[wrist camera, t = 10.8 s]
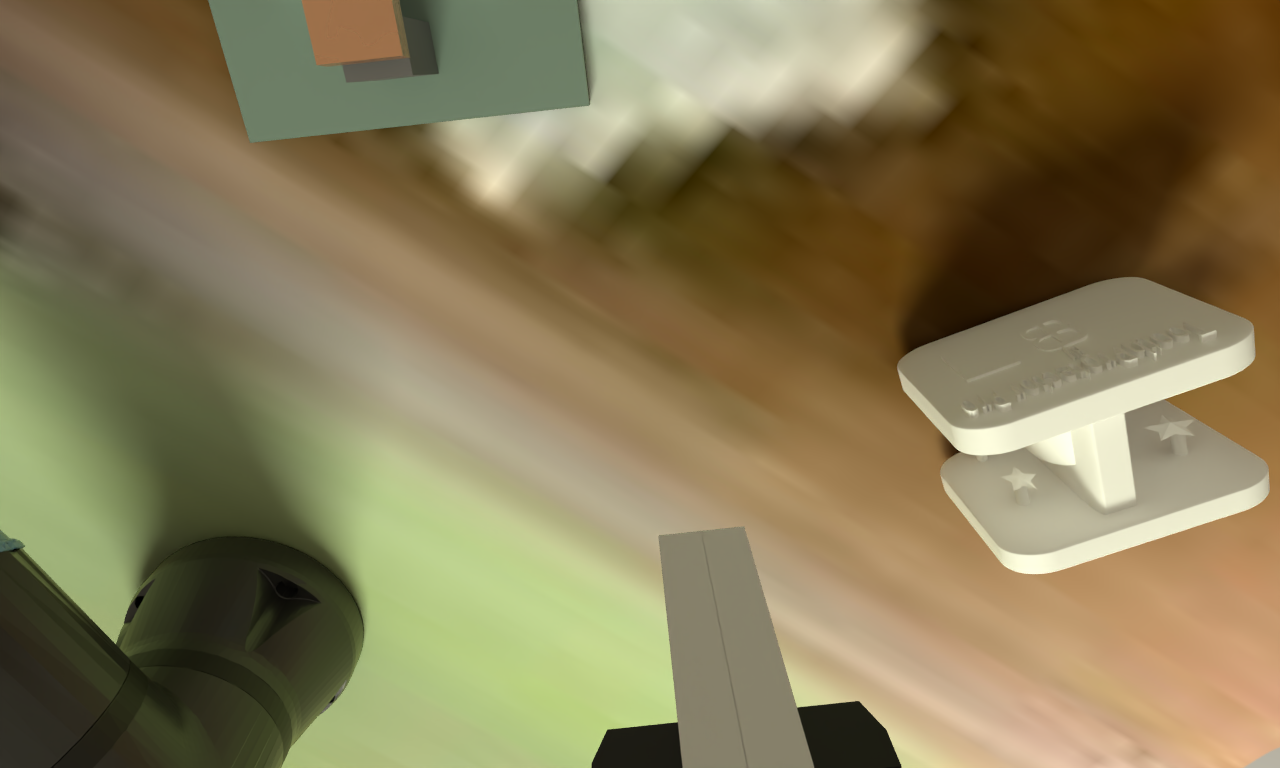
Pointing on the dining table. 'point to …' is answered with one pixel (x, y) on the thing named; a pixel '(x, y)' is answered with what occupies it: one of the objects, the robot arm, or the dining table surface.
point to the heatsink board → (466, 48)
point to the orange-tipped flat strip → (355, 31)
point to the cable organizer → (1087, 422)
